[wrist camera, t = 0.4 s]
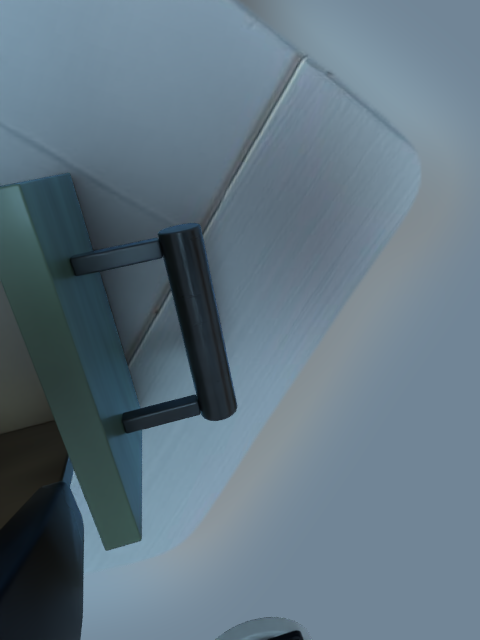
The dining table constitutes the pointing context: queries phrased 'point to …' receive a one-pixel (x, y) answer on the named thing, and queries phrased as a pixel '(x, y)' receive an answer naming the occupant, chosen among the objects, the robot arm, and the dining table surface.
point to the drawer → (89, 356)
